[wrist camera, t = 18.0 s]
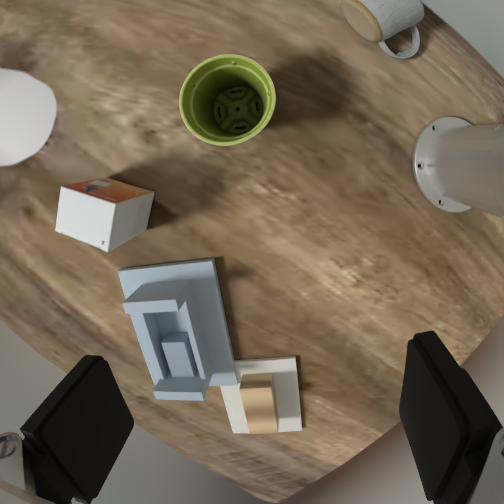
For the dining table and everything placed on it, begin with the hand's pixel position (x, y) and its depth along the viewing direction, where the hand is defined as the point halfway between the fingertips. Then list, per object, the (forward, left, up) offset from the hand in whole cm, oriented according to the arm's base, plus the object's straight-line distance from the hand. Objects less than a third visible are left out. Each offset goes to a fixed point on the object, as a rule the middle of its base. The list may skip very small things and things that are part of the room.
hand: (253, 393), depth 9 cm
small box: (+20, -4, -33) cm, 38 cm away
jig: (+16, +15, -32) cm, 39 cm away
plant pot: (+3, -13, -32) cm, 35 cm away
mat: (+6, +29, -32) cm, 44 cm away
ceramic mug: (-17, -23, -33) cm, 44 cm away
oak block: (+6, +28, -32) cm, 43 cm away
